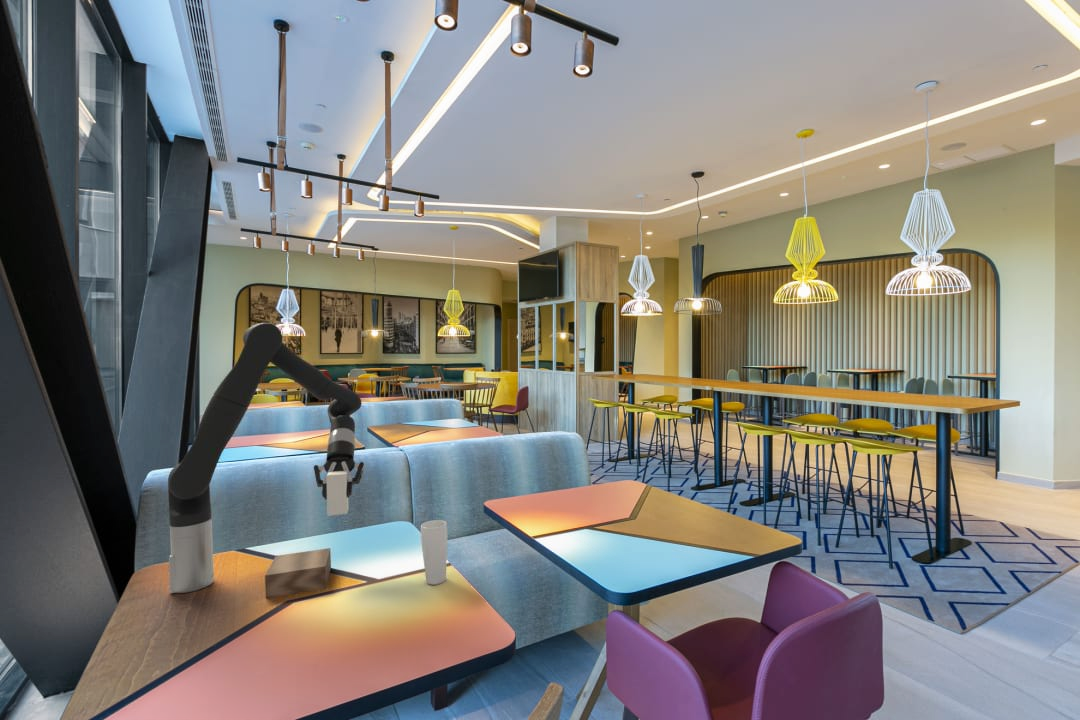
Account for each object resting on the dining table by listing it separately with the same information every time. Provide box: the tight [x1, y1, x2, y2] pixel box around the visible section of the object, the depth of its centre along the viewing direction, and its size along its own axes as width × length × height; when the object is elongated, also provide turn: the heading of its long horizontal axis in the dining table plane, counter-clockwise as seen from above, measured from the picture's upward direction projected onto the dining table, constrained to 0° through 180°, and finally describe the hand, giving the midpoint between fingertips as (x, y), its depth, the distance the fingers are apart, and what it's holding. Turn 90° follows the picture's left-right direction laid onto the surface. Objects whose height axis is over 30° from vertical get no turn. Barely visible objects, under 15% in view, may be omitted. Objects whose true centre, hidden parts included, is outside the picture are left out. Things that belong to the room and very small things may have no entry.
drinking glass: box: [420, 519, 448, 586], centre depth 130 cm, size 7×7×15 cm
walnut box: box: [264, 547, 332, 599], centre depth 134 cm, size 14×14×6 cm
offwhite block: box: [326, 471, 350, 517], centre depth 139 cm, size 5×5×11 cm
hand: (336, 496), depth 138 cm, fingers closed on offwhite block, 5 cm apart
